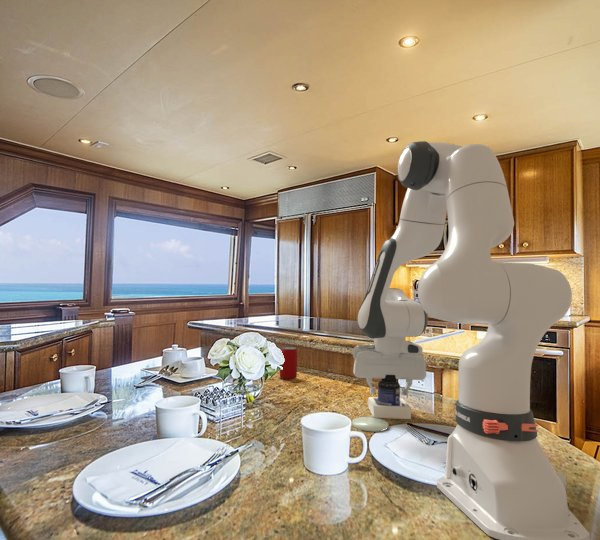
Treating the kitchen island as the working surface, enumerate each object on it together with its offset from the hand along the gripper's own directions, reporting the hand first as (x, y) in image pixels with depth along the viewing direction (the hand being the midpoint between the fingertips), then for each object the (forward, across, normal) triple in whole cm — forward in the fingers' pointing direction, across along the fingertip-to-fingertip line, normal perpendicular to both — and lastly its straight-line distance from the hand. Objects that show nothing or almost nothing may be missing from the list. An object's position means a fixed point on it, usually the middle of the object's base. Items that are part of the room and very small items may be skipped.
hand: (388, 394), depth 111 cm
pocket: (+5, 0, 0) cm, 5 cm away
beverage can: (+5, -31, +42) cm, 52 cm away
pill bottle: (+5, 0, 0) cm, 5 cm away
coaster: (+5, -7, -12) cm, 15 cm away
